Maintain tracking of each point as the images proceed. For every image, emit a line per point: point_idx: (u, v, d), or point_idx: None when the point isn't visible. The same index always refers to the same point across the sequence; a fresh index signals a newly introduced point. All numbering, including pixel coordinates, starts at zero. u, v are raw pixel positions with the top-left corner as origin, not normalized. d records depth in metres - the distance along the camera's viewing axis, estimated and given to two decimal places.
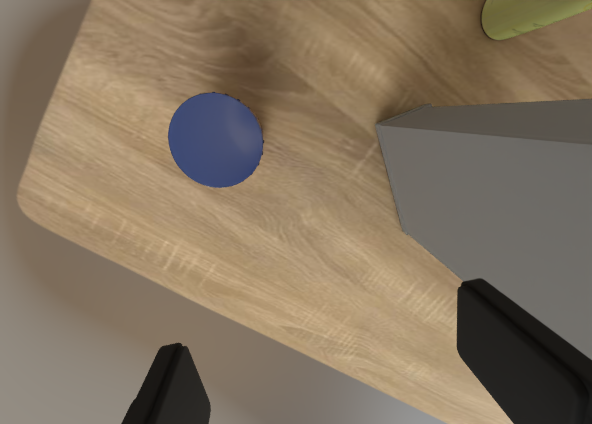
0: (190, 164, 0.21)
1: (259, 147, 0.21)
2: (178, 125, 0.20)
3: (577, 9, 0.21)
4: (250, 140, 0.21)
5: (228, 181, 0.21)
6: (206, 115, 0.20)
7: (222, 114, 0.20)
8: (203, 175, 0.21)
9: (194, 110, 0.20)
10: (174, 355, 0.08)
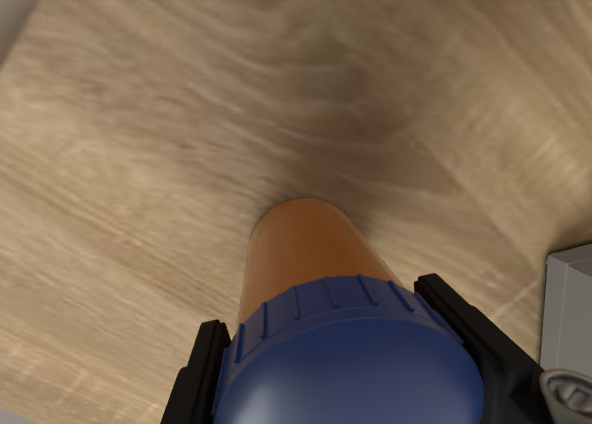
0: None
1: None
2: (252, 394, 0.06)
3: None
4: None
5: None
6: (346, 372, 0.06)
7: (394, 370, 0.06)
8: None
9: (313, 360, 0.06)
10: (215, 330, 0.09)
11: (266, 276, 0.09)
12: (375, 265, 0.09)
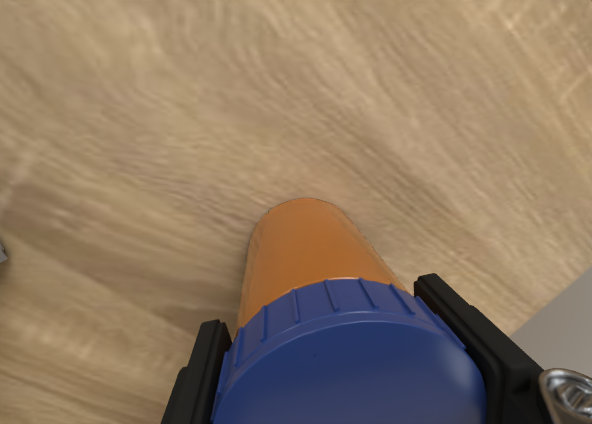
0: None
1: None
2: (252, 399, 0.06)
3: None
4: None
5: None
6: (346, 376, 0.06)
7: (395, 375, 0.06)
8: None
9: (313, 364, 0.06)
10: (216, 329, 0.09)
11: None
12: None
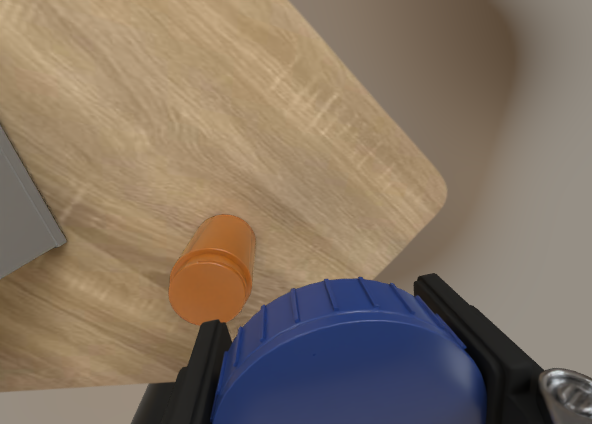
0: None
1: None
2: (251, 398, 0.06)
3: None
4: None
5: None
6: (346, 376, 0.06)
7: (395, 375, 0.06)
8: None
9: (313, 363, 0.06)
10: (216, 329, 0.09)
11: None
12: None
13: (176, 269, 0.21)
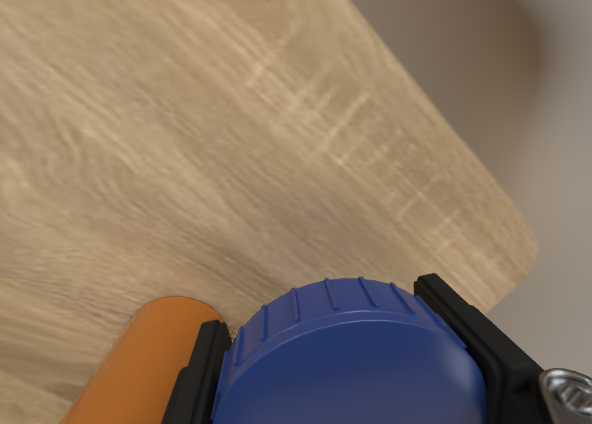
0: None
1: None
2: (252, 398, 0.06)
3: None
4: None
5: None
6: (346, 376, 0.06)
7: (396, 374, 0.06)
8: None
9: (313, 363, 0.06)
10: (216, 329, 0.09)
11: None
12: None
13: None
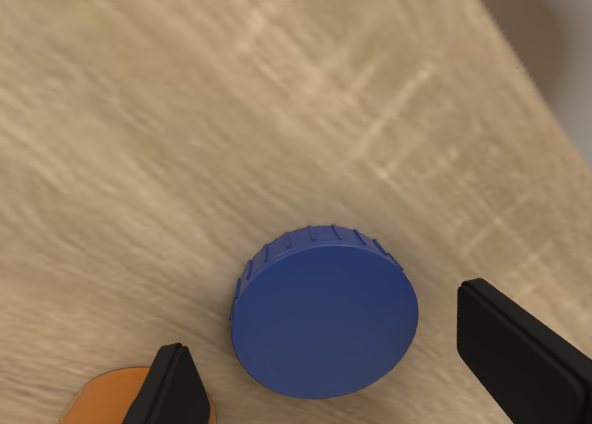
0: (266, 363, 0.10)
1: (406, 340, 0.10)
2: (258, 298, 0.09)
3: None
4: (394, 329, 0.10)
5: (331, 390, 0.11)
6: (320, 284, 0.09)
7: (353, 284, 0.09)
8: (287, 380, 0.11)
9: (298, 274, 0.09)
10: (174, 355, 0.08)
11: None
12: None
13: None
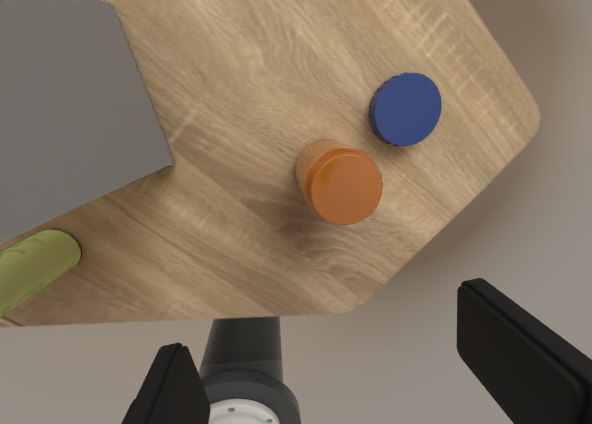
0: (385, 124, 0.28)
1: (436, 118, 0.28)
2: (386, 94, 0.27)
3: None
4: (432, 112, 0.28)
5: (407, 141, 0.28)
6: (408, 89, 0.27)
7: (419, 90, 0.27)
8: (391, 134, 0.28)
9: (401, 84, 0.27)
10: (174, 355, 0.08)
11: None
12: None
13: (312, 168, 0.22)
